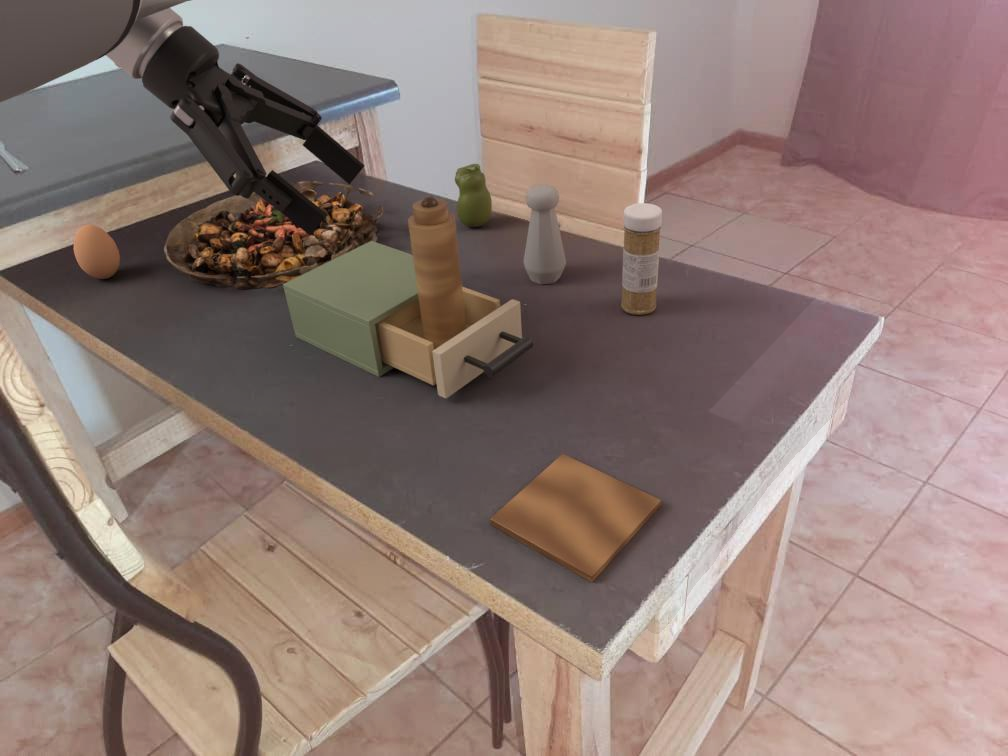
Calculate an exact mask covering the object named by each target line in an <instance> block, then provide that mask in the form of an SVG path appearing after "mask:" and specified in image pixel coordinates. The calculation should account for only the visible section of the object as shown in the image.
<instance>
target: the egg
mask: <svg viewBox="0 0 1008 756" xmlns="http://www.w3.org/2000/svg"><path fill="white" fill-rule="evenodd" d="M73 254H74V257H75V259H76V262H77V264H78V266H79V267H80V269H81V270H82V271H84V272H85V274H87V275H89V276H90V277H91V278H95V279H99V280H107V279H109V278H111V277H113V276H114V275H115V274H116V273H117V271H118V269H119V267H120V263H121V256H120V255H121V254H120V250H119V248H118V246H117V244H116V242H115V240H114V238H112V236H111V235H110V234H109V233H108V232H106V231H105V229H103V228H102V227H99V226H98V225H95V224H84V225H82V226H81V227H79V229H77V231H76V232H75V235H74V239H73Z"/></svg>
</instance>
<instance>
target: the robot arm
mask: <svg viewBox="0 0 1008 756" xmlns="http://www.w3.org/2000/svg"><path fill="white" fill-rule="evenodd" d="M190 1H192V0H0V103H3V102H5V101H7V100H10V99H12V98H15V97H17V96H21V95H22V94H25V93H27V92H30V91H33V90H36V89H37V88H39V87H41V86H44V85H46V84H48V83H50V82H52V81H55V80H57V79H59V78H61V77H63V76H65V75H68V74H70V73H72V72H74V71H76V70H79V69H81V68H83V67H85V66H88V65H89V64H92V63H93V62H95V61H97V60H100V59H102V58H104V57H105V56H106V57H107V58H108V59H109V60H110V61H112V62H113V63H114V65H115V66H116V67H117V68H119V69H121V70H123V71H124V73H126V74H128V75H129V76H130V77H131V78H132V79H135V80H138V79H139V80H140V79H141V83H142V86H143V88H144V89H146V90H147V92H149V93H151V94H152V96H154V97H156V98H157V99H158V100H160V102H162V103H163V104H164V105H165V106H167V107H169V108H170V109H173V111H172V112H171V114H170V116H169V118H170V120H171V122H172V123H173V124H175V125H176V127H178V128H179V129H180V130H181V131H183V132H184V133H185V134H186V135H187V136H188V137H189V139H190V140H191V141H192V143H193V144H194V145H195V147H196V149H198V151H199V152H200V154H201V155H202V156H203V158H204V159H205V160H206V162H207V163H208V165H209V166H210V167H211V168H212V170H213V171H214V172H215V173H216V175H217V176H218V178H219V179H220V180H221V181H222V183H223V184H224V185H225V187H226V188H227V189H228V191H229V192H230V193H231V194H232V195H233V196H235V195H236V196H239V195H241V196H242V197H244V198H250V196H251V195H252V194H253V192H255V193H256V194H258V195H259V196H260V197H261V198H263V199H264V200H265V201H266V202H268V203H269V204H270V205H271V206H273V207H274V208H275V209H276V210H278V211H280V212H281V213H282V214H284V215H285V216H286V217H287V218H289V219H290V220H291V221H292V222H294V223H295V224H296V225H297V226H299V227H300V228H301V229H302V230H304V231H305V232H306V233H307V234H309V235H310V236H311V235H312V233H313V232H314V231H315V230H316V229H317V227H318V226H319V225H320V224H321V222H322V221H323V220H324V219H325V218H326V216H327V214H326V213H325V212H324V211H323V210H321V209H320V208H319V207H318V206H316V205H315V204H314V203H313V202H311V201H310V200H309V199H308V198H307V197H305V196H304V195H303V194H302V193H300V192H299V191H298V190H297V189H295V188H294V187H293V186H292V185H291V184H289V183H290V182H288V181H287V180H286V179H285V178H283V177H282V176H281V175H280V174H278V173H277V172H276V171H275V170H273V169H272V170H270V172H268V174H267V171H266V169H265V168H264V165H263V164H262V162H261V160H260V158H259V156H258V155H257V152H256V150H255V149H254V147H253V145H252V143H251V141H250V139H249V137H248V135H247V134H246V131H245V130H244V128H243V126H242V125H243V124H245V123H246V124H252V123H256V124H259V125H262V126H265V127H267V128H270V129H272V130H276V131H279V132H281V133H283V134H286V135H289V136H292V137H294V138H297V139H300V140H302V141H304V142H303V143H302V146H303V148H305V149H306V150H307V151H308V152H310V153H311V154H312V155H313V156H314V157H316V159H318V160H319V161H320V162H321V163H323V164H324V165H325V166H326V167H327V168H329V169H330V170H331V171H333V173H335V175H337V176H338V177H339V178H341V179H342V180H343V181H344V182H345V183H347V185H349V186H351V183H352V182H353V181H354V180H355V178H356V177H357V176H358V175H359V174H360V172H361V171H362V170H363V169H364V167H365V166H366V165H365V164H364V163H362V161H360V160H359V159H358V158H357V157H355V156H354V154H352V153H351V152H350V151H348V150H347V149H346V148H345V147H344V146H342V144H340V143H339V142H338V141H336V140H335V139H334V138H333V137H332V136H331V135H330V134H328V133H327V132H326V131H325V130H324V129H323V128H321V127H320V126H319V123H320V122H321V121H322V116H321V115H320V113H319V112H318V111H317V110H316V109H314V108H313V107H312V106H310V105H308V104H306V103H304V102H302V101H301V100H300V99H297V98H296V97H293V96H292V95H290V94H289V93H287V92H285V91H283V90H281V89H280V88H278V87H276V86H274V85H273V84H272V83H269V82H267V81H266V80H264V79H262V78H260V77H258V76H257V75H255V74H254V73H253V72H252V71H251V70H249V69H248V68H246V67H245V66H244V65H243V64H241V63H239V62H238V63H236V64H235V65H234V67H233V68H232V70H231V72H230V73H229V72H228V71H226V70H224V69H223V68H221V67H220V66H219V62H218V61H219V58H220V51H219V49H218V47H216V46H215V45H214V44H213V43H211V42H210V41H209V40H208V39H207V38H206V37H205V36H204V35H202V34H201V33H200V32H199V31H198V30H196V29H195V28H194V27H193V26H191V25H184V21H183V17H181V15H179V14H178V13H177V12H176V11H175V10H173V9H172V8H173V7H175V6H178V5H181V4H183V3H186V2H190ZM234 175H235V177H234Z"/></svg>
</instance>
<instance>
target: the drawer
mask: <svg viewBox="0 0 1008 756" xmlns="http://www.w3.org/2000/svg"><path fill="white" fill-rule="evenodd" d="M462 290H463V300H464V310H465V320H466V329H465V330H464V331H462V332H461V333H459V334H458V335H456V336H455V337H453V338H452V339H450V340H449V341H447V342H445V343H444V344H442V345H441V346H439V347H438V348H436V349H435V350H434V346H433V342H430V341H428V340H426V339H424V334H423V327H422V320H421V312H420V305H419V299H418V300H416V301H414V302H412V303H411V304H409V305H407V306H406V307H404V308H402V309H400V310H399V311H397V312H395V313H394V314H392V315H390V316H388V317H387V318H385V319H383V320H382V321H380V322H378V323H376V324H375V327H376V333H377V338H378V344H379V350H380V355H381V361H382V362H384V363H386V364H388V365H390V366H392V367H394V368H393V369H397V370H399V371H401V372H402V373H405V374H407V375H410V376H412V377H414V378H416V379H418V380H420V381H422V382H424V383H426V384H429V385H431V386H435V385H436V389H437V395H438V396H439V397H441V398H443V399H445V400H446V399H448V398H449V397H451V396H452V395H454V394H455V393H456V392H458V390H460V389H462V388H463V387H465V386H467V384H469V383H470V382H472V381H473V380H475V379H476V378H477V377H478V376H480V375H481V374H483V373H484V374H485V375H486V376H487V377H488V378H491V377H493V376H495V375H496V374H497V373H499V372H500V371H502V370H503V369H504V368H506V367H508V366H509V365H510V364H511V363H513V362H515V360H517V359H519V357H521V356H522V355H524V354H525V353H526V352H528V351H529V350H530V349H532V348H533V347H534V341H533V339H532V338H531V337H529V336H524V337H523V332H522V331H523V329H522V311H521V302H520V301H519V300H517V299H513V298H512V299H509V301H507V302H505V303H504V304H502V305H501V299H498V298H496V297H492V296H490V295H487V294H484V293H481V292H479V291H477V290H473V289H470V288H468V287H465V286H462Z"/></svg>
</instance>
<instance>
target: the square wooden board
mask: <svg viewBox="0 0 1008 756" xmlns="http://www.w3.org/2000/svg"><path fill="white" fill-rule="evenodd" d="M661 504H662V499H660V498H657V497H656V496H653V495H652V494H649V493H648V492H645V491H643V490H641V489H638V488H637V487H634V486H632V485H630V484H628V483H626V482H624V481H621V480H619V479H618V478H616V477H613V476H611V475H609V474H607V473H605V472H602V471H600V470H598V469H597V468H594V467H592V466H590V465H588V464H586V463H583V462H581V461H580V460H577V459H576V458H575V459H574V458H572V457H570V456H568V455H566V454H564V453H562V454H560V455H559V456H558V457H557V458H556V459H555V460H554V461H553V462H551V463H550V464H549V465H548V466H547V467H546V468H545V469H544V470H543V471H541V472H540V473H539V474H538V475H537V476H536V477H535V478H534V479H533V480H532V481H530V483H528V484H527V485H526V486H525V487H524V488H523V489H521V490H520V491H519V492H518V493H517V494H516V495H515V496H514V497H512V498H511V499H510V500H509V501H508V502H507V503H506V504H505V505H504V506H502V507H501V509H499V510H498V511H497V512H496V513H495V514H494V515H493V516H491V517H490V522H489V523H490V526H492V527H494V528H496V529H497V530H499V531H501V532H503V533H504V534H506V535H508V536H510V537H512V538H513V539H515V540H516V541H519V542H520V543H522V544H524V545H525V546H527V547H528V548H531V549H533V550H534V551H536V552H538V553H539V554H541V555H543V556H545V557H546V558H548V559H550V560H551V561H554V562H555V563H557V564H558V565H560V566H563V567H564V568H566V569H568V570H569V571H571V572H572V573H575V574H577V575H578V576H579V577H581V578H584V579H585V580H587V581H589V582H590V583H593V582H594V581H595V580H596V579H597V577H599V575H600V574H601V573H602V572H603V571H605V569H606V567H607V566H608V565H609V564H610V563H611V562H612V561H613V560H614V559H615V557H617V556H618V554H619V553H620V552H621V551H622V550H623V549H624V547H626V546H627V544H628V543H630V541H631V539H633V538H634V536H635V535H636V534H638V532H639V531H640V530H641V529H642V527H643V526H644V525H645V524H646V523H647V522H648V521H649V519H651V517H652V516H653V515H654V514H655V513H656V512H657V511H658V510H659V508H661Z"/></svg>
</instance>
